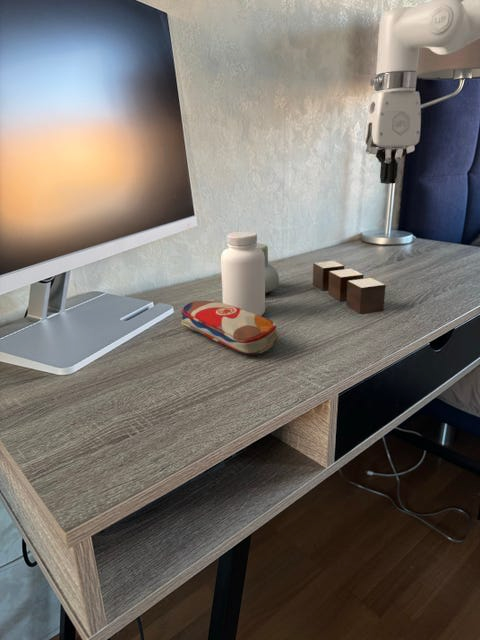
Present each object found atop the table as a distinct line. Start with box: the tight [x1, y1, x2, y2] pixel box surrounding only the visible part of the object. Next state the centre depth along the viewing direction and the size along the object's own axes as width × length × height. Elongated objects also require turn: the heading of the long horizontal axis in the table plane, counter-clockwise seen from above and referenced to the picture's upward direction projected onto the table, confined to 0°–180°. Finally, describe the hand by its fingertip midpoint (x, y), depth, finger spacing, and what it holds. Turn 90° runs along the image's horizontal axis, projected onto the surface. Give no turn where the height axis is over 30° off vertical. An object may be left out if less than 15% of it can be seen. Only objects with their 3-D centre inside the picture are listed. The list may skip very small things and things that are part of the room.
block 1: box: [312, 260, 345, 292], centre depth 97 cm, size 5×5×5 cm
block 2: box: [346, 277, 386, 315], centre depth 83 cm, size 5×5×5 cm
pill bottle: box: [220, 231, 266, 316], centre depth 81 cm, size 8×8×15 cm
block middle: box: [327, 268, 364, 302], centre depth 90 cm, size 5×5×5 cm
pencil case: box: [180, 300, 278, 355], centre depth 73 cm, size 11×20×5 cm, turn 26°
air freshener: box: [256, 242, 280, 294], centre depth 95 cm, size 11×8×10 cm
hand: (387, 183), depth 93 cm, fingers closed
